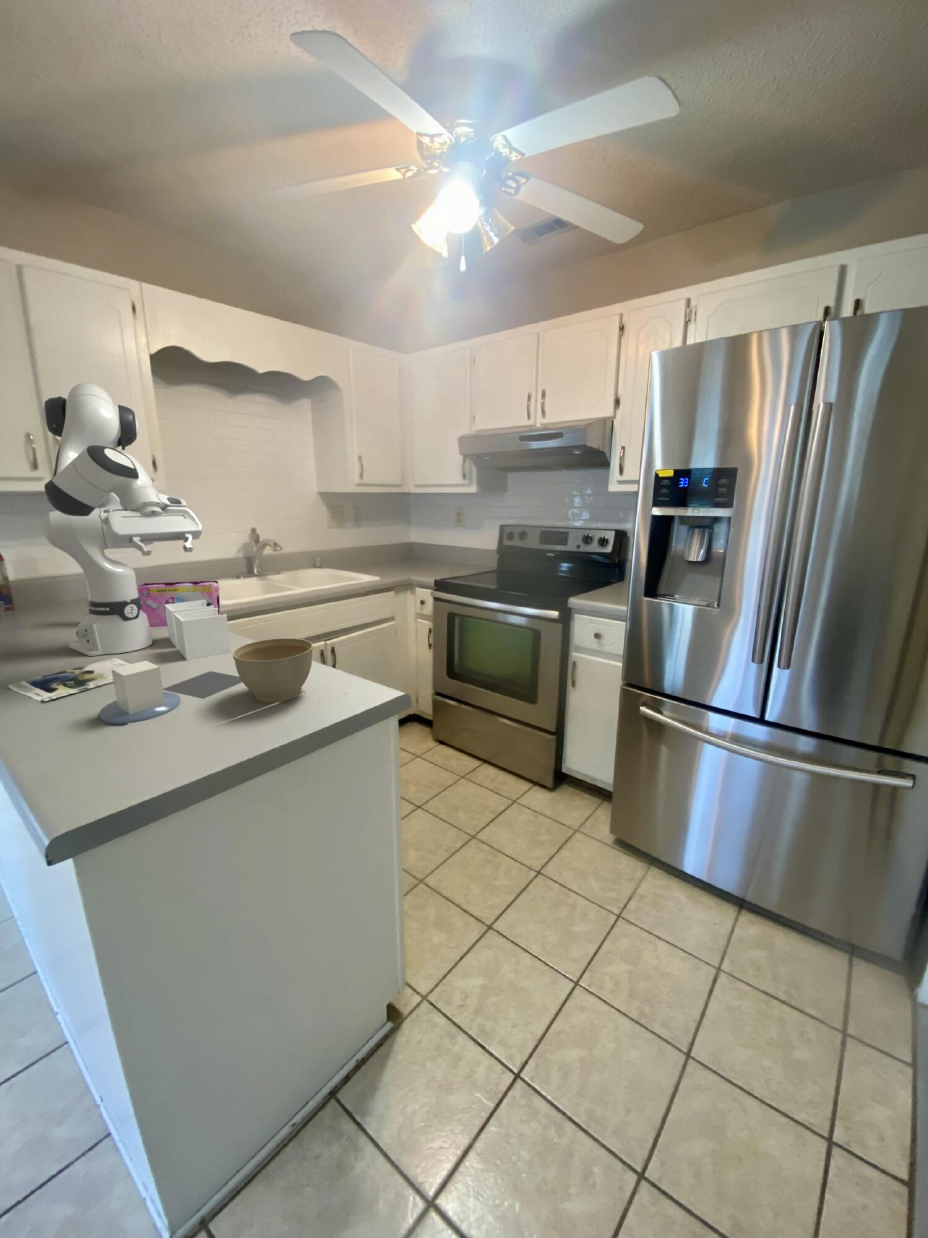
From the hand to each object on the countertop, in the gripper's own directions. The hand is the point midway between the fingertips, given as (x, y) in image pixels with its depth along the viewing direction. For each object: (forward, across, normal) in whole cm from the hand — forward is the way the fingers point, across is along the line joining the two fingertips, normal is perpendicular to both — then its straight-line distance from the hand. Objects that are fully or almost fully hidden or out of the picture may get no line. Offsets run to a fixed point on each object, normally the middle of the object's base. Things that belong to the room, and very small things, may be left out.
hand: (169, 552), depth 121 cm
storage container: (+9, +12, +34) cm, 37 cm away
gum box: (-14, +22, +56) cm, 61 cm away
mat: (+32, -2, +10) cm, 33 cm away
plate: (+34, -17, +8) cm, 38 cm away
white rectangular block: (+33, -17, +7) cm, 38 cm away
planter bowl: (+44, +4, -3) cm, 45 cm away
